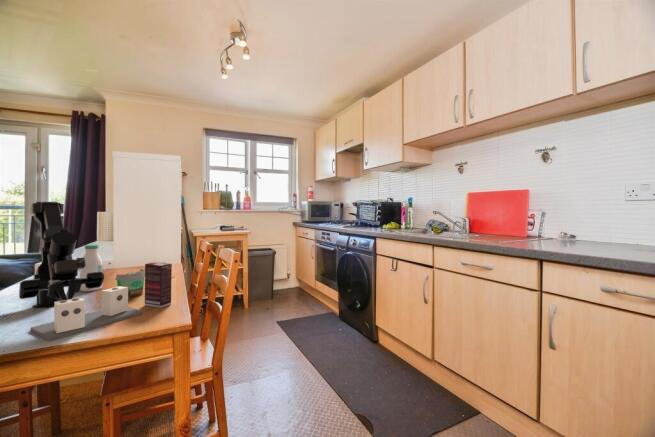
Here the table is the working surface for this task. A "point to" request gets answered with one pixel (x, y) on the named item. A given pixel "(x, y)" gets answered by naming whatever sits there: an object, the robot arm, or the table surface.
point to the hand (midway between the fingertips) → (68, 307)
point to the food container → (132, 283)
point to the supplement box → (158, 284)
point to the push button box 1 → (114, 300)
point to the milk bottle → (91, 264)
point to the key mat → (91, 322)
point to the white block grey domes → (69, 314)
